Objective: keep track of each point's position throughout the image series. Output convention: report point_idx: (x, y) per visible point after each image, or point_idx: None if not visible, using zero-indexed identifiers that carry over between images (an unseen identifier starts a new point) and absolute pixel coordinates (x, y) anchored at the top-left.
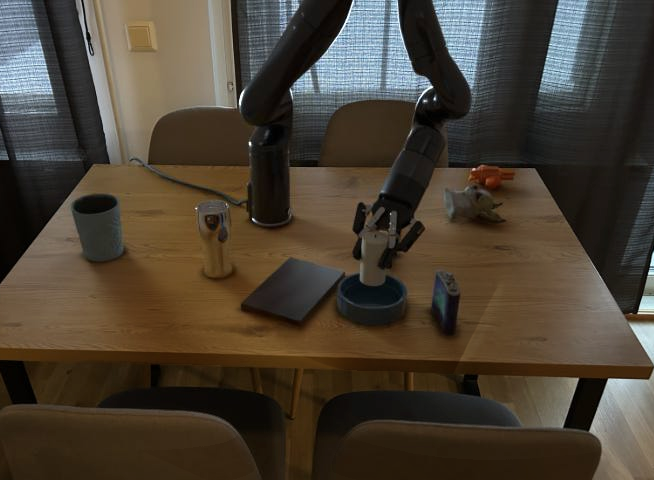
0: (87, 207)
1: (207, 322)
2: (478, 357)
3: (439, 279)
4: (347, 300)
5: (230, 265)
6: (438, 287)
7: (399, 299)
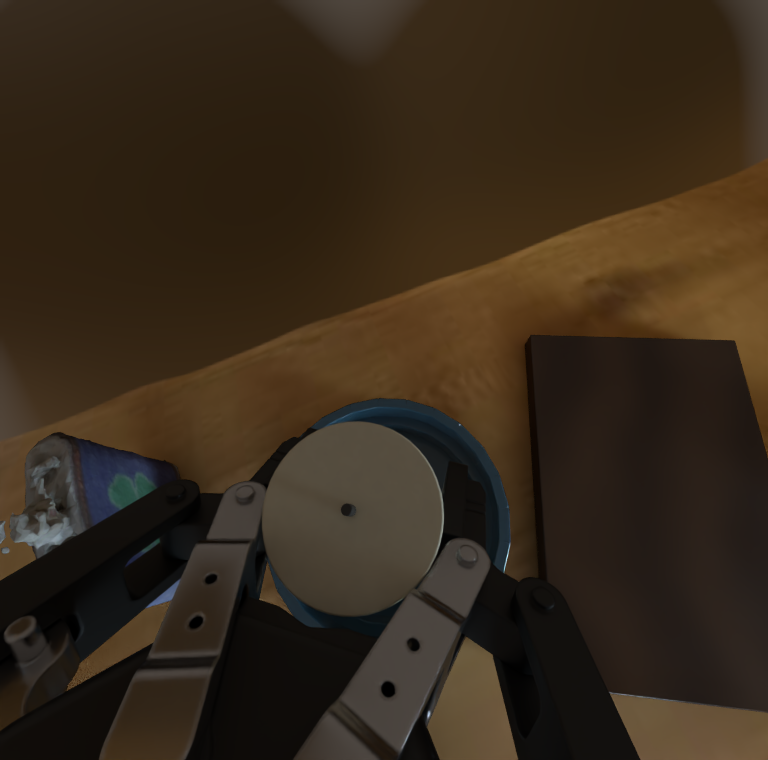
0: None
1: (746, 272)
2: (96, 411)
3: None
4: (436, 416)
5: None
6: None
7: None
